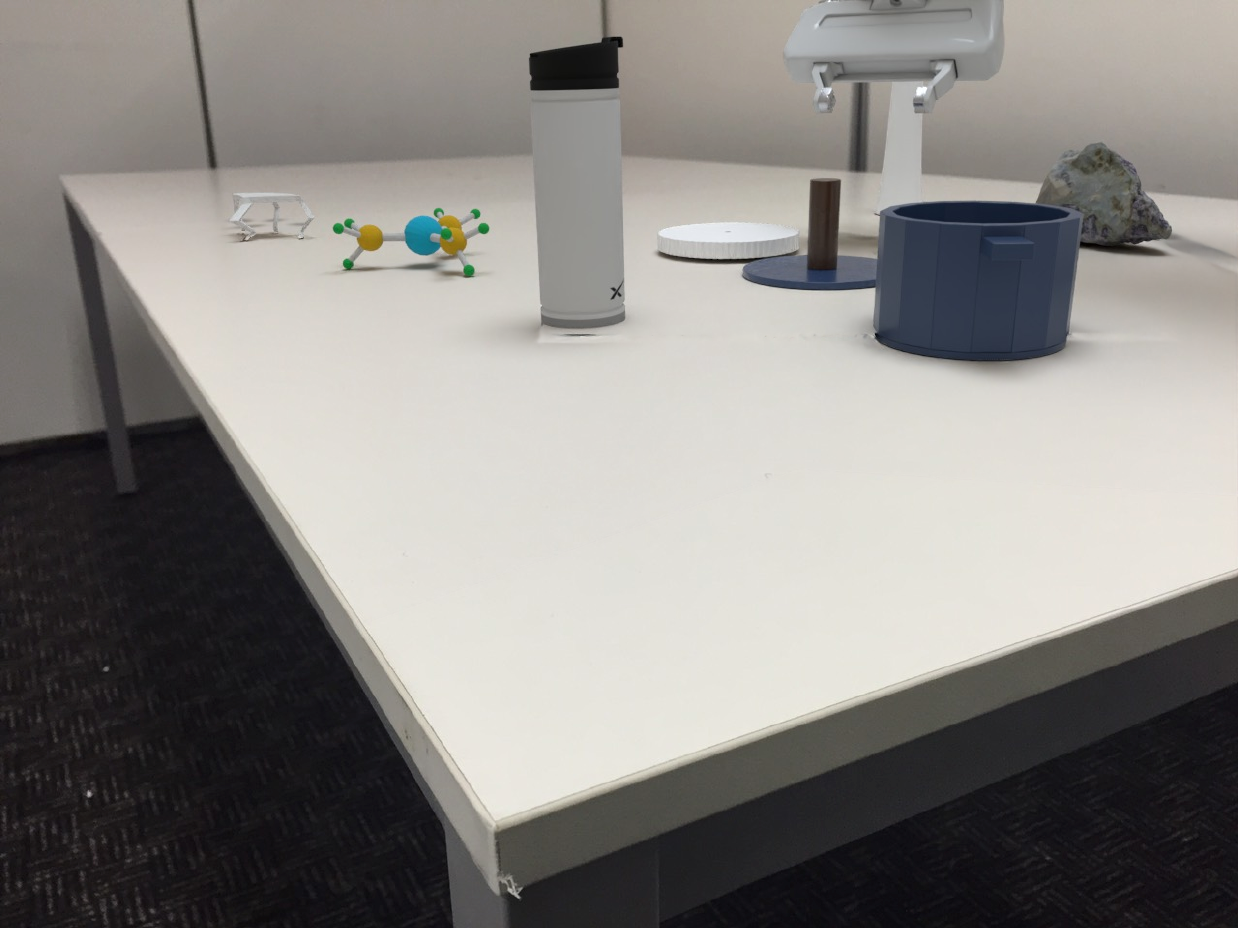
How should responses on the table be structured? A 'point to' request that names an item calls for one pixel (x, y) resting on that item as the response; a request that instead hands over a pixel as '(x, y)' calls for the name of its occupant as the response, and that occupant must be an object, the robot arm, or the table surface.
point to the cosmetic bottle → (902, 150)
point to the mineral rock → (1104, 197)
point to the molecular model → (418, 236)
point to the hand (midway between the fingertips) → (870, 109)
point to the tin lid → (817, 251)
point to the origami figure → (252, 198)
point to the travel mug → (578, 184)
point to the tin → (976, 278)
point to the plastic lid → (728, 240)
